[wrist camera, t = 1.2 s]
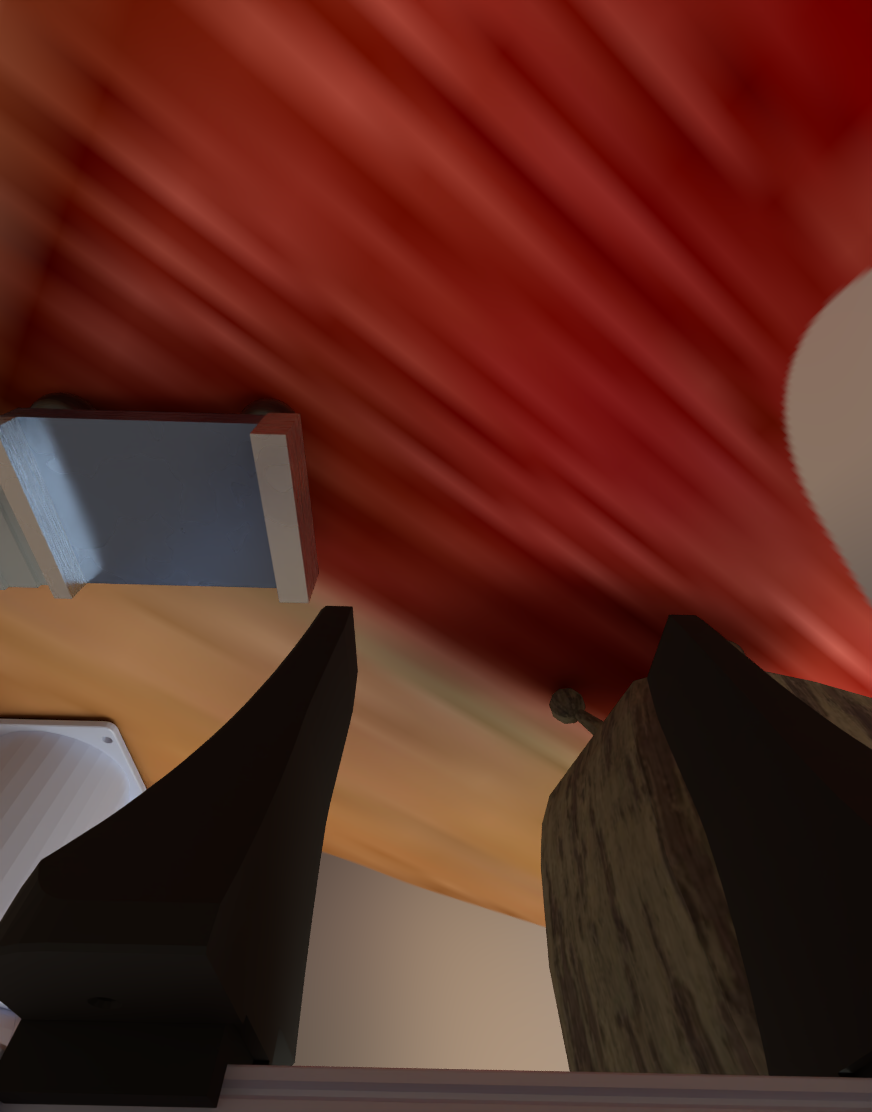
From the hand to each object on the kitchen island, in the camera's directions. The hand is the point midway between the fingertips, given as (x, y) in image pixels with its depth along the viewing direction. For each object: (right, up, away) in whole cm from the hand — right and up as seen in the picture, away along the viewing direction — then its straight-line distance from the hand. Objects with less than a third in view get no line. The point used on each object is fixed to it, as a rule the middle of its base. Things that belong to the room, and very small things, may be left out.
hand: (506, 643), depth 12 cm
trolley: (-10, +5, +7) cm, 13 cm away
